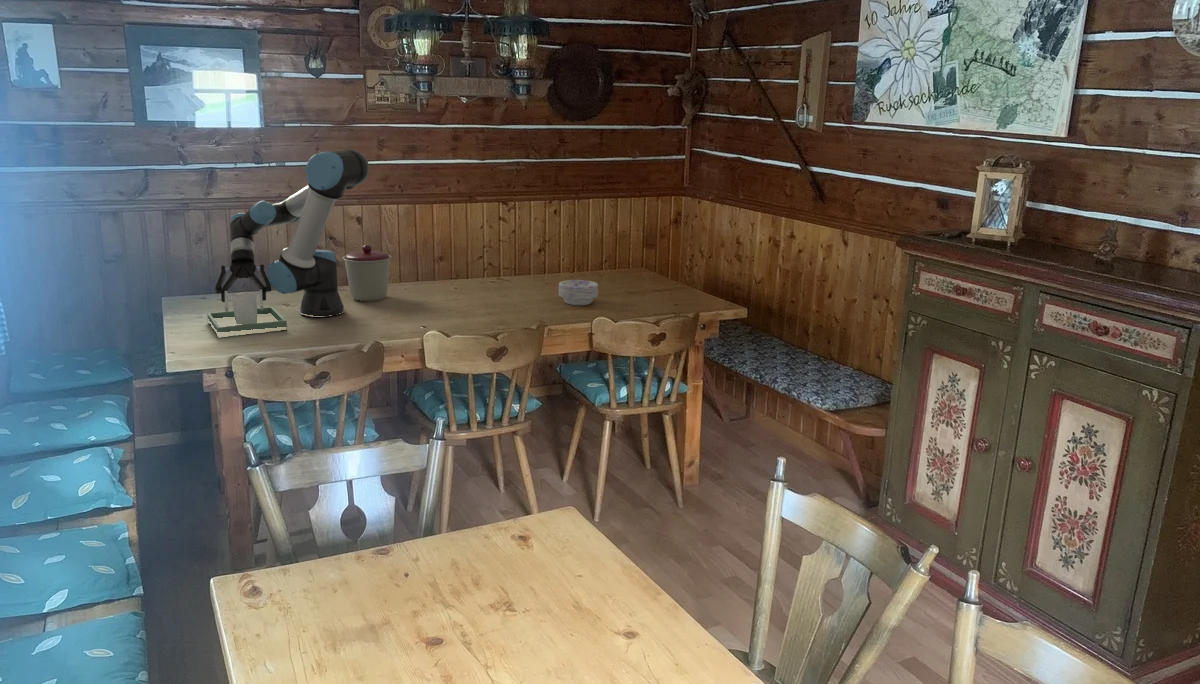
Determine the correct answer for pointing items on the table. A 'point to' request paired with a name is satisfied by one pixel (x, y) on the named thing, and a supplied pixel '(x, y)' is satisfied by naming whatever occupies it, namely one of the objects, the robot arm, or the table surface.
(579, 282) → the paper bowls
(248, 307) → the white cup
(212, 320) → the green box
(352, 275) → the canister
